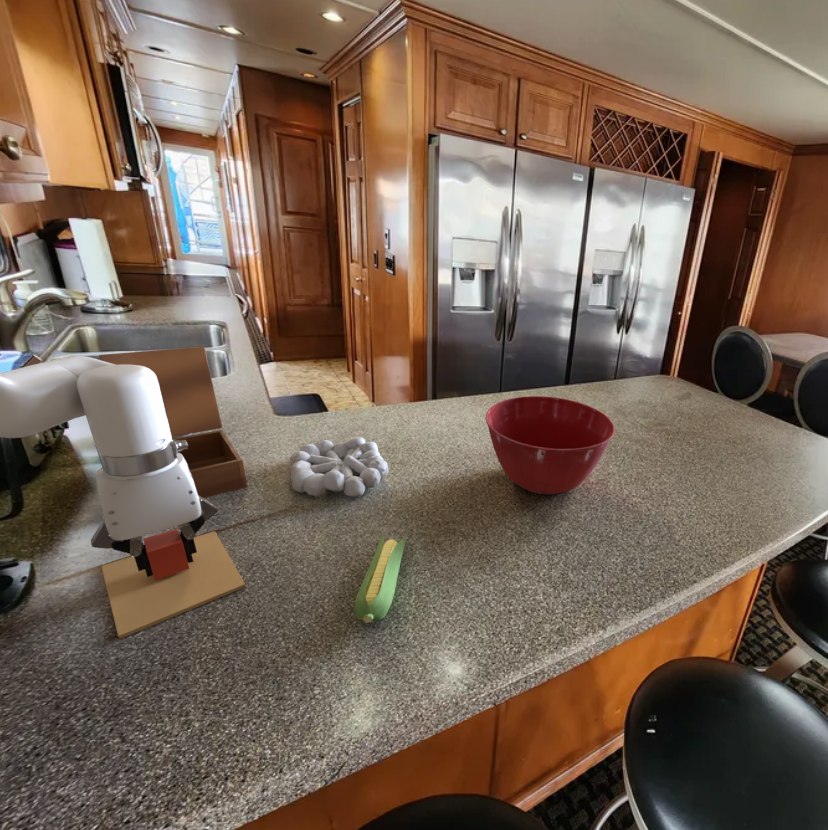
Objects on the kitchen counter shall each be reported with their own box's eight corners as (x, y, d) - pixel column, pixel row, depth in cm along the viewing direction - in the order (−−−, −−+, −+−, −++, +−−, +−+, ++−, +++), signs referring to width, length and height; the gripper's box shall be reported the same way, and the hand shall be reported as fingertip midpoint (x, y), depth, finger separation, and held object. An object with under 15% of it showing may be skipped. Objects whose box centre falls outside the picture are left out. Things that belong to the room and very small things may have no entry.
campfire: (258, 480, 94) (254, 455, 92) (345, 445, 112) (343, 423, 109) (331, 517, 85) (328, 491, 83) (413, 473, 103) (412, 449, 101)
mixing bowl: (629, 485, 108) (640, 425, 102) (544, 533, 88) (552, 462, 82) (544, 441, 125) (549, 388, 119) (457, 473, 105) (458, 411, 99)
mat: (99, 559, 70) (98, 555, 70) (209, 524, 80) (209, 521, 80) (119, 639, 58) (117, 636, 58) (245, 587, 68) (245, 583, 68)
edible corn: (348, 633, 63) (346, 608, 61) (381, 540, 81) (380, 519, 79) (388, 632, 63) (386, 607, 62) (411, 540, 82) (411, 519, 80)
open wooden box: (248, 490, 91) (242, 459, 88) (144, 517, 80) (134, 484, 78) (228, 457, 101) (222, 429, 99) (134, 477, 91) (125, 447, 88)
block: (189, 568, 69) (182, 541, 67) (154, 580, 66) (146, 552, 64) (184, 554, 72) (177, 528, 70) (151, 565, 69) (143, 538, 67)
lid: (204, 346, 94) (203, 346, 94) (98, 355, 83) (98, 354, 84) (222, 427, 98) (221, 427, 99) (124, 445, 88) (124, 444, 88)
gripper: (209, 432, 70) (229, 531, 77) (49, 462, 59) (90, 575, 65) (220, 451, 65) (241, 554, 72) (49, 487, 54) (93, 606, 61)
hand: (169, 563), depth 69 cm, fingers closed on block, 4 cm apart
